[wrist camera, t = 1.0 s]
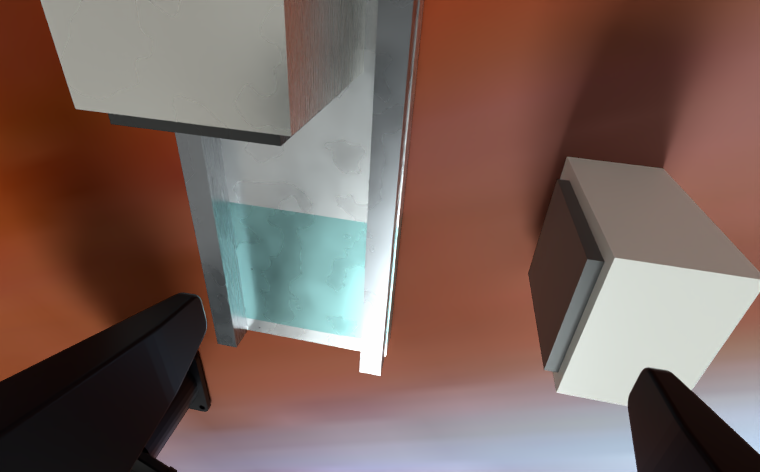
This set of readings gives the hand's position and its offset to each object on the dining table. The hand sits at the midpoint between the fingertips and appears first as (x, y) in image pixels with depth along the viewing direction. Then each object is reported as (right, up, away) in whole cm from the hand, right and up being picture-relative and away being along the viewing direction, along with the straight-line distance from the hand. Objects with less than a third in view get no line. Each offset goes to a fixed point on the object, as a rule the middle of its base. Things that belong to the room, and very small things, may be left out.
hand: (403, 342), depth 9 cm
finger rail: (-4, +6, +13) cm, 15 cm away
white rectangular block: (+10, +3, +12) cm, 15 cm away
